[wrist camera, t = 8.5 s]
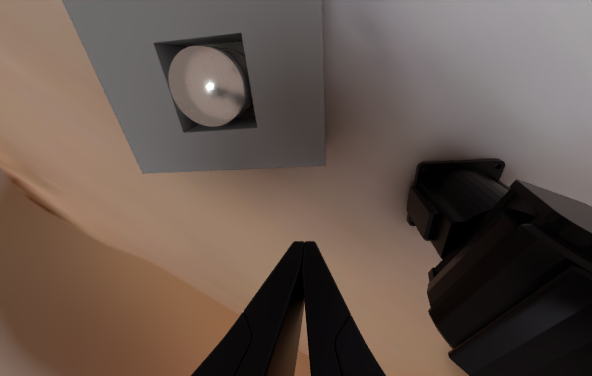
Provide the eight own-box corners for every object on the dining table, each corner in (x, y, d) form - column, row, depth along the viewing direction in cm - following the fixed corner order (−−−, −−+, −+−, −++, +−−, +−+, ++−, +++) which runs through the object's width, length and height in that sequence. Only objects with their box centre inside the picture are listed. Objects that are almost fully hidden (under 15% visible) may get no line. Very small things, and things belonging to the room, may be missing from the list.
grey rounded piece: (251, 45, 15) (232, 41, 12) (262, 111, 18) (248, 124, 14) (191, 51, 16) (156, 49, 13) (208, 115, 18) (182, 128, 15)
